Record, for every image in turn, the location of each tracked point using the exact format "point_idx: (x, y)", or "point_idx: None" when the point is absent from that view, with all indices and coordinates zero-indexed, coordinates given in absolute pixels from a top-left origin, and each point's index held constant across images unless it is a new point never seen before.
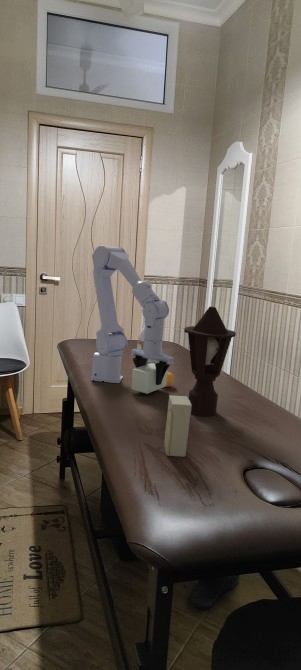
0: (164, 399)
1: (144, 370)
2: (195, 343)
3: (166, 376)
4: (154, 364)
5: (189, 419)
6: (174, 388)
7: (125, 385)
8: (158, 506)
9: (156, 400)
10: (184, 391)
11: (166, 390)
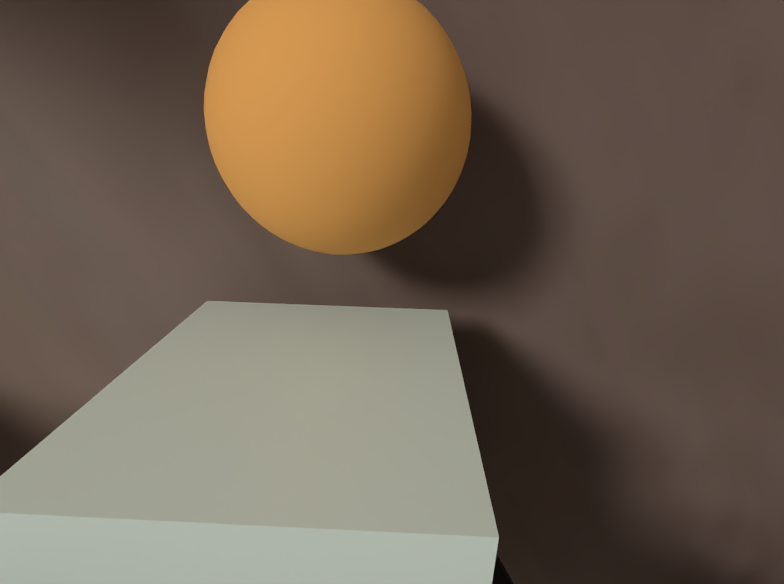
0: (559, 508)
1: None
2: None
3: (461, 386)
4: (111, 568)
5: None
6: (477, 114)
7: (57, 424)
8: None
9: (515, 564)
10: (637, 132)
11: (441, 267)
